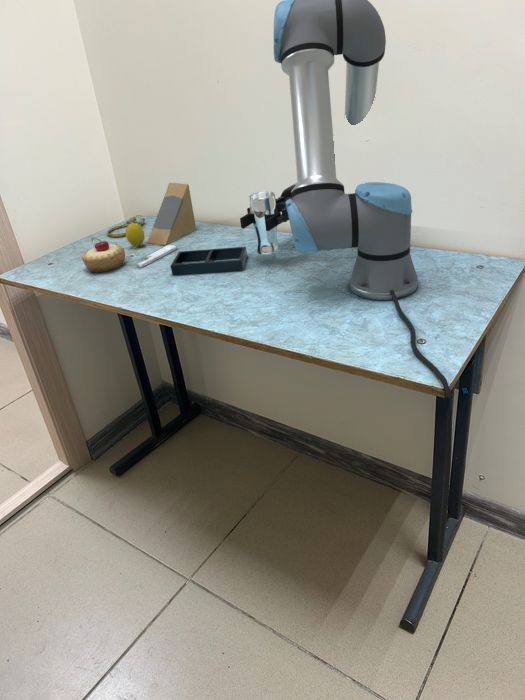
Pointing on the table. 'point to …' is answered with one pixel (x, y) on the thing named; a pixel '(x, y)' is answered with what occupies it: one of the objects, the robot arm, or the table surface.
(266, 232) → the beer glass
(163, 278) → the table surface
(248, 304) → the table surface
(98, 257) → the pastry
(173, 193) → the sandwich container
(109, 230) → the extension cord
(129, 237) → the lemon
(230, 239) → the table surface
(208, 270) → the black divided tray
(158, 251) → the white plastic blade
